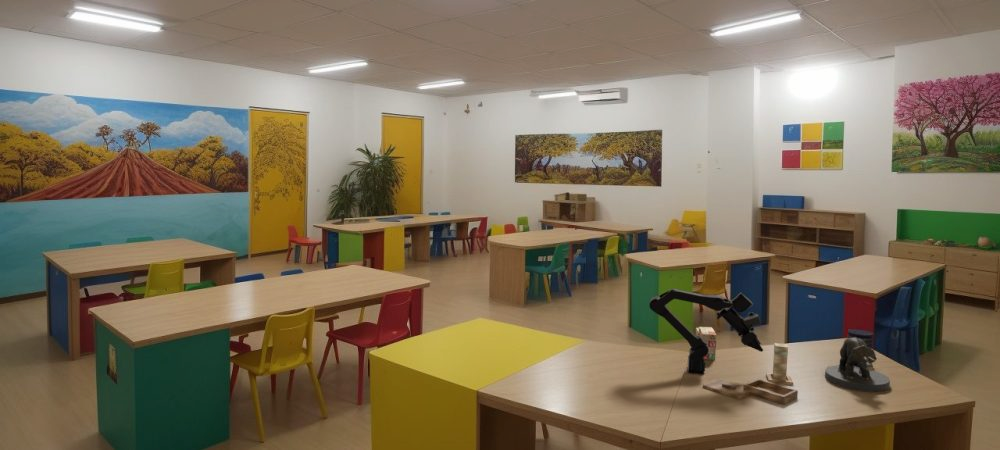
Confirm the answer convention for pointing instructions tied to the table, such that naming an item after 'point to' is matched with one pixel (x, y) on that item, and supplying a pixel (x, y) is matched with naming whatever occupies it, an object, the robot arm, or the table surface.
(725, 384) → the lid
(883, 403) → the table surface
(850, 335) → the storage jar
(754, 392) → the tan wooden shallow tray
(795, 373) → the table surface
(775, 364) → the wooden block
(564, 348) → the table surface
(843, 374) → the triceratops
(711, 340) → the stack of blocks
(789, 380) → the square wooden frame
